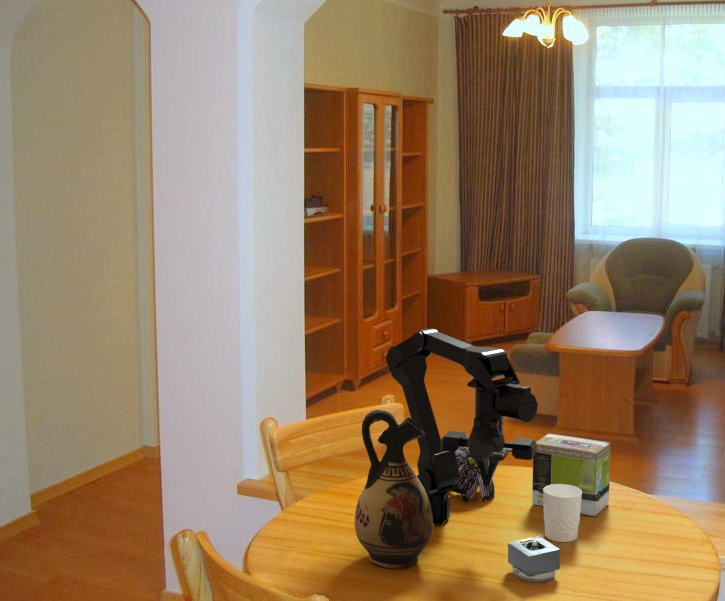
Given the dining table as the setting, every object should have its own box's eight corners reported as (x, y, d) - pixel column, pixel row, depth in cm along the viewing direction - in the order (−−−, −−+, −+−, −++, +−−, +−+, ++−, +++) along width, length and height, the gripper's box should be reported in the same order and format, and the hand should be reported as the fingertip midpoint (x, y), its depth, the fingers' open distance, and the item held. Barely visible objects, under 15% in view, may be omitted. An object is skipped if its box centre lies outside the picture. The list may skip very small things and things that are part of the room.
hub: (508, 579, 184) (509, 546, 183) (517, 562, 191) (517, 530, 190) (551, 585, 181) (552, 552, 180) (558, 568, 189) (559, 536, 188)
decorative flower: (460, 469, 217) (435, 432, 229) (440, 512, 220) (416, 473, 233) (514, 478, 223) (487, 441, 235) (493, 519, 226) (467, 481, 239)
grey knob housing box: (528, 576, 182) (528, 555, 181) (508, 562, 188) (508, 541, 187) (559, 569, 184) (560, 548, 184) (538, 555, 191) (538, 534, 190)
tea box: (609, 504, 222) (612, 441, 220) (594, 518, 214) (597, 453, 212) (547, 491, 230) (549, 431, 228) (530, 505, 222) (532, 442, 220)
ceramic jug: (430, 543, 201) (432, 401, 196) (434, 576, 185) (436, 423, 181) (348, 542, 201) (347, 401, 196) (344, 575, 186) (344, 422, 181)
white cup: (580, 545, 200) (582, 498, 198) (541, 542, 201) (542, 495, 200) (580, 530, 207) (581, 485, 206) (542, 527, 209) (543, 482, 207)
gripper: (433, 417, 193) (432, 493, 195) (527, 426, 187) (525, 504, 189) (448, 403, 203) (447, 475, 206) (538, 411, 197) (536, 486, 199)
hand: (487, 485), depth 200 cm, fingers closed
